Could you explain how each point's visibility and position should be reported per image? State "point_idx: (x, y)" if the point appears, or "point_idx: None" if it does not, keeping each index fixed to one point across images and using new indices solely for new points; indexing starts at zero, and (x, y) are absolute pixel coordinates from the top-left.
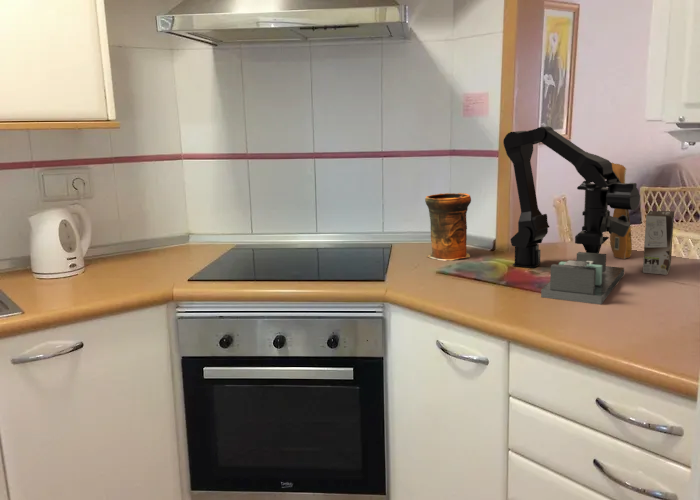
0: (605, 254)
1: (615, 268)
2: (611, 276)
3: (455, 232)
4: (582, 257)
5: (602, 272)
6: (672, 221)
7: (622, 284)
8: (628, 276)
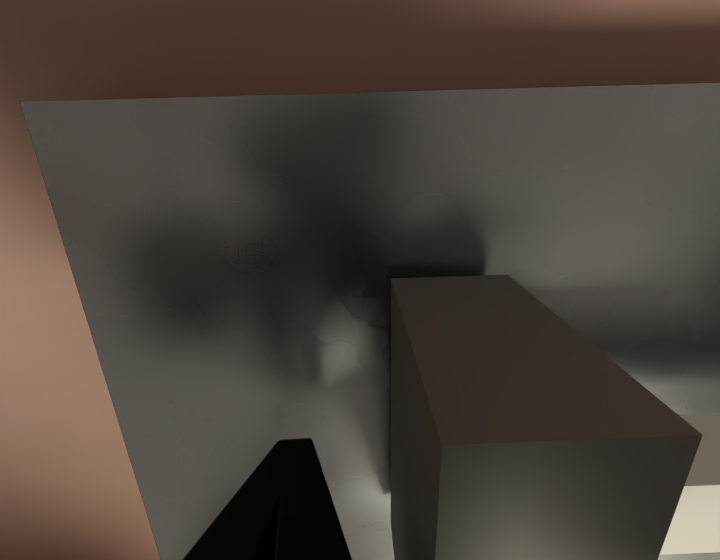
0: (513, 451)
1: (138, 206)
2: (573, 160)
3: None
4: None
5: None
6: None
7: (509, 37)
8: (127, 45)
